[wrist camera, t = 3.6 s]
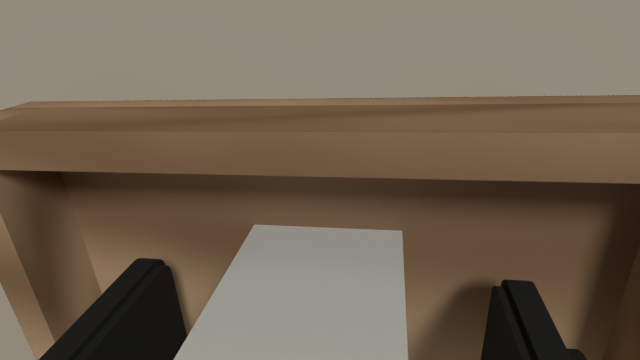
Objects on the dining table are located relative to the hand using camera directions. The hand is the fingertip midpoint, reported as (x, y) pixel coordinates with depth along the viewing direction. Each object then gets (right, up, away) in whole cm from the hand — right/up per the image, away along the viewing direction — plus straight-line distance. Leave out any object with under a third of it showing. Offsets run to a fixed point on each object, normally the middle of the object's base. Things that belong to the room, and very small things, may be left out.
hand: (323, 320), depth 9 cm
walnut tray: (0, -3, +3) cm, 5 cm away
